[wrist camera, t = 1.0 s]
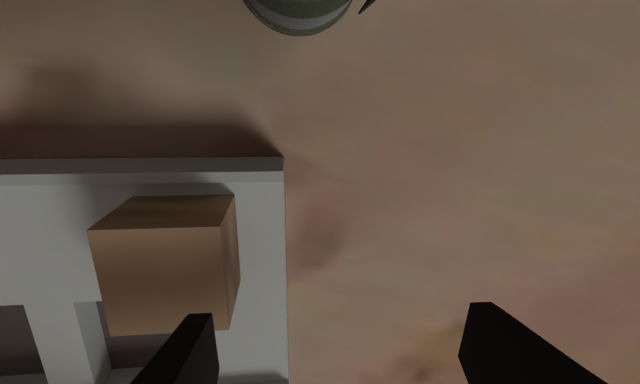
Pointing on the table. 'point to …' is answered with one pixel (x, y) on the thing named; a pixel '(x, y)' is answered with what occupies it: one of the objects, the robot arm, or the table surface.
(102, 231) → the block
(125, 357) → the tray
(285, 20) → the grenade
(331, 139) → the table surface
